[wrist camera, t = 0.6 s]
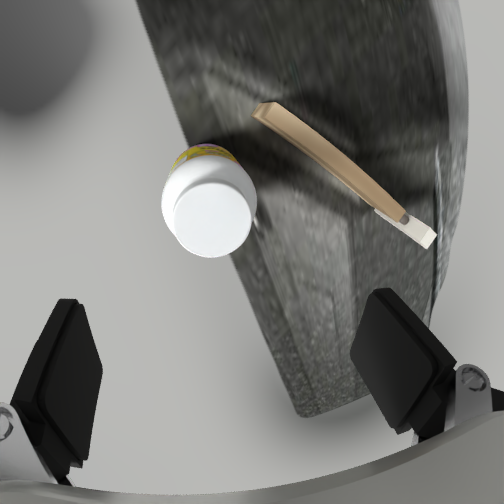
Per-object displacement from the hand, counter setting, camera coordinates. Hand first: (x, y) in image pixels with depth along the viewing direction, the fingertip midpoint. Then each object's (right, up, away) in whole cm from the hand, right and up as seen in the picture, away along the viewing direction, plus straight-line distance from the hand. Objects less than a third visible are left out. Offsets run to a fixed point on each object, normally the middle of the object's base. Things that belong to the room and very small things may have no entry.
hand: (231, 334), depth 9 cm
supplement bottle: (-4, +10, +20) cm, 22 cm away
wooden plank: (+8, +12, +21) cm, 25 cm away
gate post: (+16, +8, +25) cm, 30 cm away
